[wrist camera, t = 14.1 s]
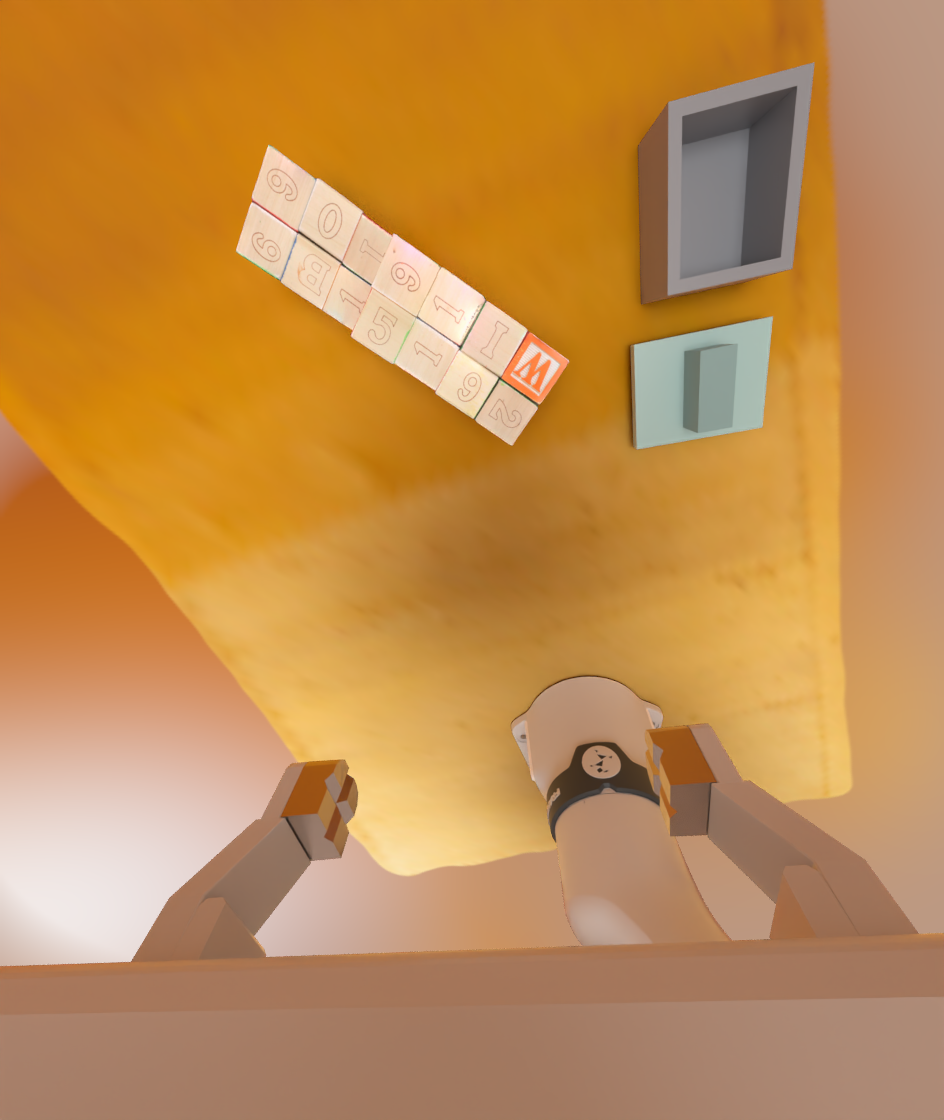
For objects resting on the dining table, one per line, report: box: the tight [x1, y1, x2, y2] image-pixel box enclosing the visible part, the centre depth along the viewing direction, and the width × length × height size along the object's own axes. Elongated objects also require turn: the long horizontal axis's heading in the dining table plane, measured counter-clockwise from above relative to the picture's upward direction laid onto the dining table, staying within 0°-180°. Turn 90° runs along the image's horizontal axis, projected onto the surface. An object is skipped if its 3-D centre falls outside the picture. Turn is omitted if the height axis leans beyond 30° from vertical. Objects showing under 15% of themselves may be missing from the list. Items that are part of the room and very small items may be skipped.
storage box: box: [638, 63, 814, 304], centre depth 30 cm, size 10×8×6 cm
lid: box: [630, 317, 773, 449], centre depth 35 cm, size 10×8×5 cm
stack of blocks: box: [236, 145, 569, 445], centre depth 31 cm, size 21×6×12 cm, turn 57°
